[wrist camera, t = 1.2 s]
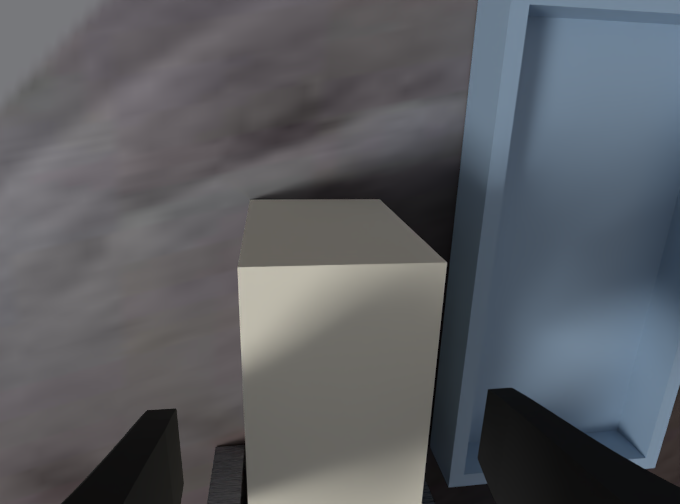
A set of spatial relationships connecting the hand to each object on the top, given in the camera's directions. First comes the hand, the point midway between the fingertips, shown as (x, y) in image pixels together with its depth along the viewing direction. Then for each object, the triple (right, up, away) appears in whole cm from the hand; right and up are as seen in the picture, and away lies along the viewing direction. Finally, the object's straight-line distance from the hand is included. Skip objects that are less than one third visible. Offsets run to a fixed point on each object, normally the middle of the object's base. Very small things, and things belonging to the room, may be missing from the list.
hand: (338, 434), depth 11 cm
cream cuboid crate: (-1, 0, +6) cm, 6 cm away
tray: (+8, +4, +5) cm, 10 cm away
